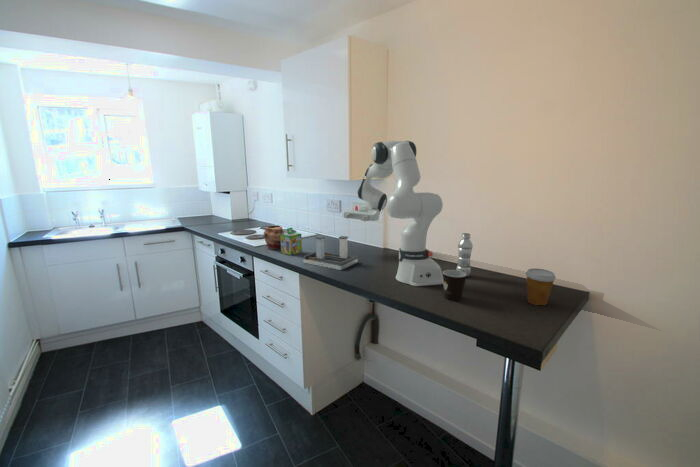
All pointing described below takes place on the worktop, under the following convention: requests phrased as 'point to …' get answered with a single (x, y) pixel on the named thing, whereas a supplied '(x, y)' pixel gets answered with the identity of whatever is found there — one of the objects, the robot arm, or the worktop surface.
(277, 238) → the decorative planter
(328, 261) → the grey rectangular tray
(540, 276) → the disposable coffee cup
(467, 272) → the plastic bottle
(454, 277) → the coffee mug
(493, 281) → the worktop surface
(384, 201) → the robot arm
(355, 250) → the worktop surface
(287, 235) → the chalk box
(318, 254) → the cylinder
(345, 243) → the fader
